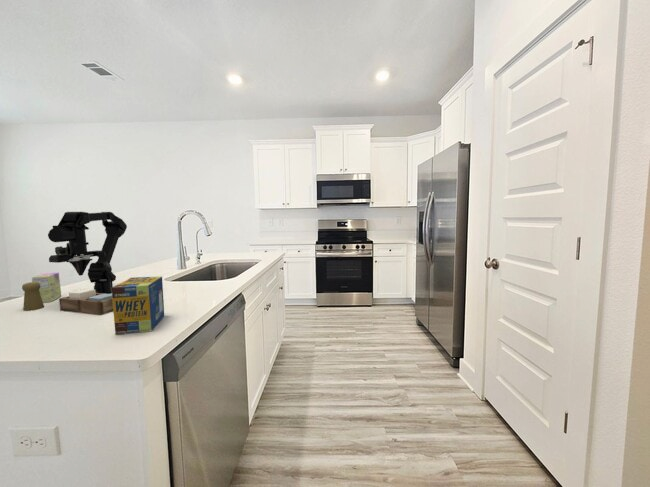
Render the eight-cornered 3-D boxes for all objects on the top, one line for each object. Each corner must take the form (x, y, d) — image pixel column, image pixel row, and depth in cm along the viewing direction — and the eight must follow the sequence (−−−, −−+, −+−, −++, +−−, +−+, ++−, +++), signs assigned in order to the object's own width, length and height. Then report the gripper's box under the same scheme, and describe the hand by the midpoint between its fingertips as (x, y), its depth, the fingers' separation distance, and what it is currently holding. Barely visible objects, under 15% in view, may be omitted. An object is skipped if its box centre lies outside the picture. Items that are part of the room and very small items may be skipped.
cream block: (85, 297, 118) (85, 288, 118) (96, 298, 117) (95, 289, 116) (69, 301, 112) (68, 292, 112) (80, 303, 111) (79, 293, 110)
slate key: (105, 302, 115) (104, 293, 115) (116, 303, 114) (115, 294, 113) (89, 307, 110) (88, 297, 109) (100, 308, 108) (99, 298, 108)
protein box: (114, 335, 87) (110, 287, 86) (134, 318, 102) (130, 277, 101) (151, 331, 90) (148, 285, 89) (165, 315, 105) (162, 275, 103)
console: (87, 303, 121) (86, 291, 121) (125, 307, 115) (124, 295, 115) (60, 310, 111) (59, 298, 111) (100, 315, 106) (99, 302, 105)
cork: (30, 311, 111) (27, 284, 110) (19, 310, 112) (15, 284, 111) (48, 306, 117) (45, 281, 116) (37, 305, 118) (34, 280, 117)
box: (45, 297, 130) (43, 273, 129) (61, 296, 132) (59, 272, 131) (34, 304, 120) (31, 277, 119) (51, 302, 123) (48, 276, 122)
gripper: (87, 238, 132) (90, 270, 133) (37, 242, 114) (41, 279, 115) (104, 238, 129) (107, 271, 130) (56, 242, 111) (60, 280, 112)
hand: (80, 275), depth 122 cm, fingers closed
